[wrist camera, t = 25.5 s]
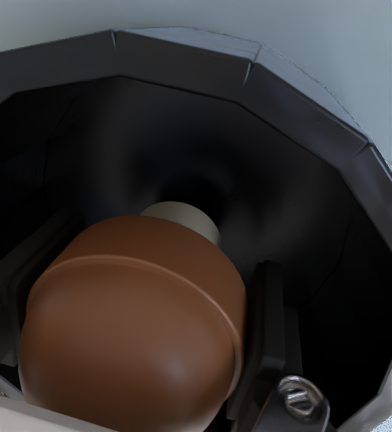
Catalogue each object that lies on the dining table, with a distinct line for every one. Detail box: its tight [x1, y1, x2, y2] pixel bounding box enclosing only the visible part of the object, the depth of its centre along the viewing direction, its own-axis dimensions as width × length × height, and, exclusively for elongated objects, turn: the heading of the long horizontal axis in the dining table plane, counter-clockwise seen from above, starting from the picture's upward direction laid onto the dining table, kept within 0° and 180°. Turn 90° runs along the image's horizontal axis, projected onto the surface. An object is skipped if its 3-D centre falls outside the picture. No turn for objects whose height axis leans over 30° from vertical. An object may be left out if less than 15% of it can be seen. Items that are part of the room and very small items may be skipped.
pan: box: [0, 27, 392, 432], centre depth 13 cm, size 15×15×6 cm
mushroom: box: [18, 201, 249, 432], centre depth 10 cm, size 6×6×8 cm
